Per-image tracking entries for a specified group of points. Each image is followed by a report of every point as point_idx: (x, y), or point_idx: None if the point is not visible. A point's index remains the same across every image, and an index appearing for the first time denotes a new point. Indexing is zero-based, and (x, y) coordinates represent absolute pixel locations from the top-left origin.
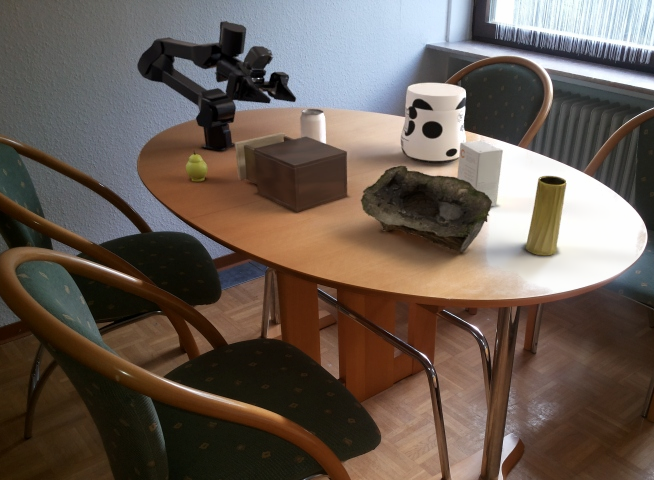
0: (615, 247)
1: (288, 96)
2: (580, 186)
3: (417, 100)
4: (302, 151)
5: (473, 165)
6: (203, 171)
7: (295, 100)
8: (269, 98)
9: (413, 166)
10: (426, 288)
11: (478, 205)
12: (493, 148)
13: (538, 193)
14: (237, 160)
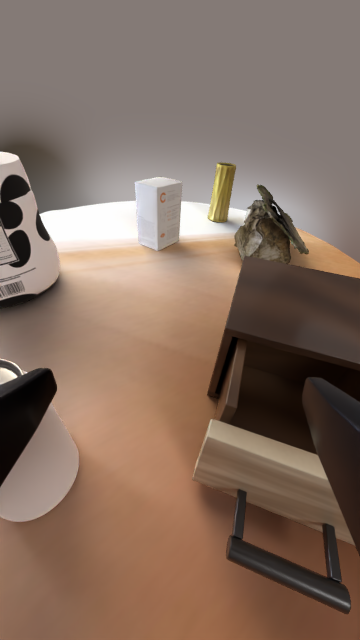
0: (188, 204)
1: (6, 428)
2: (85, 211)
3: (8, 181)
4: (312, 294)
5: (177, 200)
6: None
7: (50, 378)
8: (317, 380)
9: (62, 293)
10: (316, 242)
11: (266, 193)
12: (161, 178)
13: (232, 176)
14: None
